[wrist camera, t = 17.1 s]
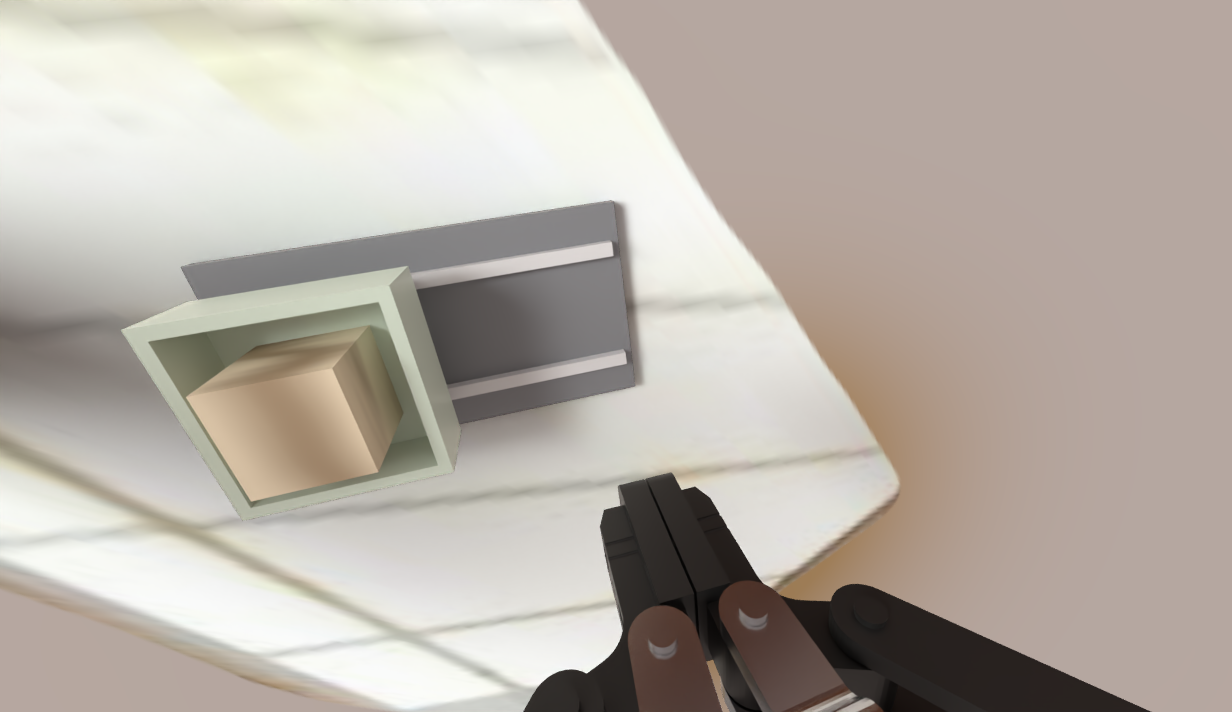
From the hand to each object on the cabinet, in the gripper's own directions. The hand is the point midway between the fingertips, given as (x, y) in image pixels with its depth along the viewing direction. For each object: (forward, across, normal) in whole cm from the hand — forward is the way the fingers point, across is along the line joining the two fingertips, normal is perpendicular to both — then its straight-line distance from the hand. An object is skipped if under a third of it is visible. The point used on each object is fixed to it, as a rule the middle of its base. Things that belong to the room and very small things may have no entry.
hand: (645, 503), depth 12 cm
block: (+13, +12, 0) cm, 18 cm away
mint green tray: (+16, +12, 0) cm, 20 cm away
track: (+18, +7, 0) cm, 19 cm away
